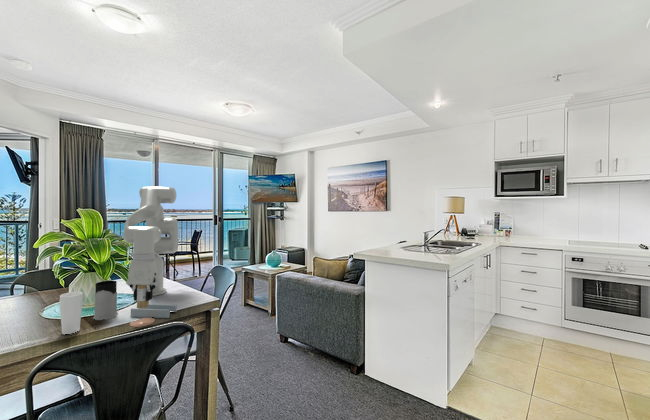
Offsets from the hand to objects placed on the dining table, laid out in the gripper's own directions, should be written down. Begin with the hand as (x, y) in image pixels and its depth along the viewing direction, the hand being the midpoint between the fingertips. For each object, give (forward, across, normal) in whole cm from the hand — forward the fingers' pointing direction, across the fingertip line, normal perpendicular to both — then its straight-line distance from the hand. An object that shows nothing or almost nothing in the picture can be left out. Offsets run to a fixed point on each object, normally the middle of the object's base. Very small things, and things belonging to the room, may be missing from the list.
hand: (142, 299), depth 123 cm
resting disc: (+10, 0, 0) cm, 10 cm away
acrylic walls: (+10, -1, +9) cm, 13 cm away
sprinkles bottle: (+4, 0, 0) cm, 4 cm away
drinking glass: (+10, -21, -11) cm, 26 cm away
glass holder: (+10, -21, +8) cm, 25 cm away
